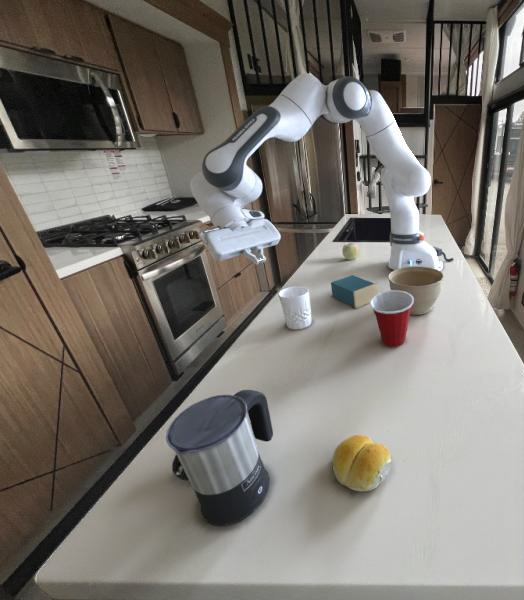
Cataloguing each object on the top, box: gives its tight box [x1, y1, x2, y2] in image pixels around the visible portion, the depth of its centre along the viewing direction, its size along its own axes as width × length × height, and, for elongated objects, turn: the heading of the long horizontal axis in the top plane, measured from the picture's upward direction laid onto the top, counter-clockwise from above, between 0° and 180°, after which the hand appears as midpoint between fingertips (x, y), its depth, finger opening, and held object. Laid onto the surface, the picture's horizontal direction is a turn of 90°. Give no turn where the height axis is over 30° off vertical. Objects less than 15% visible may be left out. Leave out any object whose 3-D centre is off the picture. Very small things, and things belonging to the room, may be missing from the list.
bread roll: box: [332, 434, 392, 492], centre depth 50 cm, size 8×9×4 cm
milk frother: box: [165, 389, 274, 527], centre depth 46 cm, size 14×16×15 cm
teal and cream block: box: [330, 274, 379, 309], centre depth 106 cm, size 5×9×13 cm
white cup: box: [278, 285, 312, 330], centre depth 90 cm, size 8×8×10 cm
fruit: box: [341, 242, 360, 260], centre depth 142 cm, size 8×7×8 cm
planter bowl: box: [387, 266, 444, 316], centre depth 97 cm, size 16×16×11 cm
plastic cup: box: [368, 290, 414, 348], centre depth 80 cm, size 11×11×12 cm
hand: (261, 262), depth 91 cm, fingers closed
